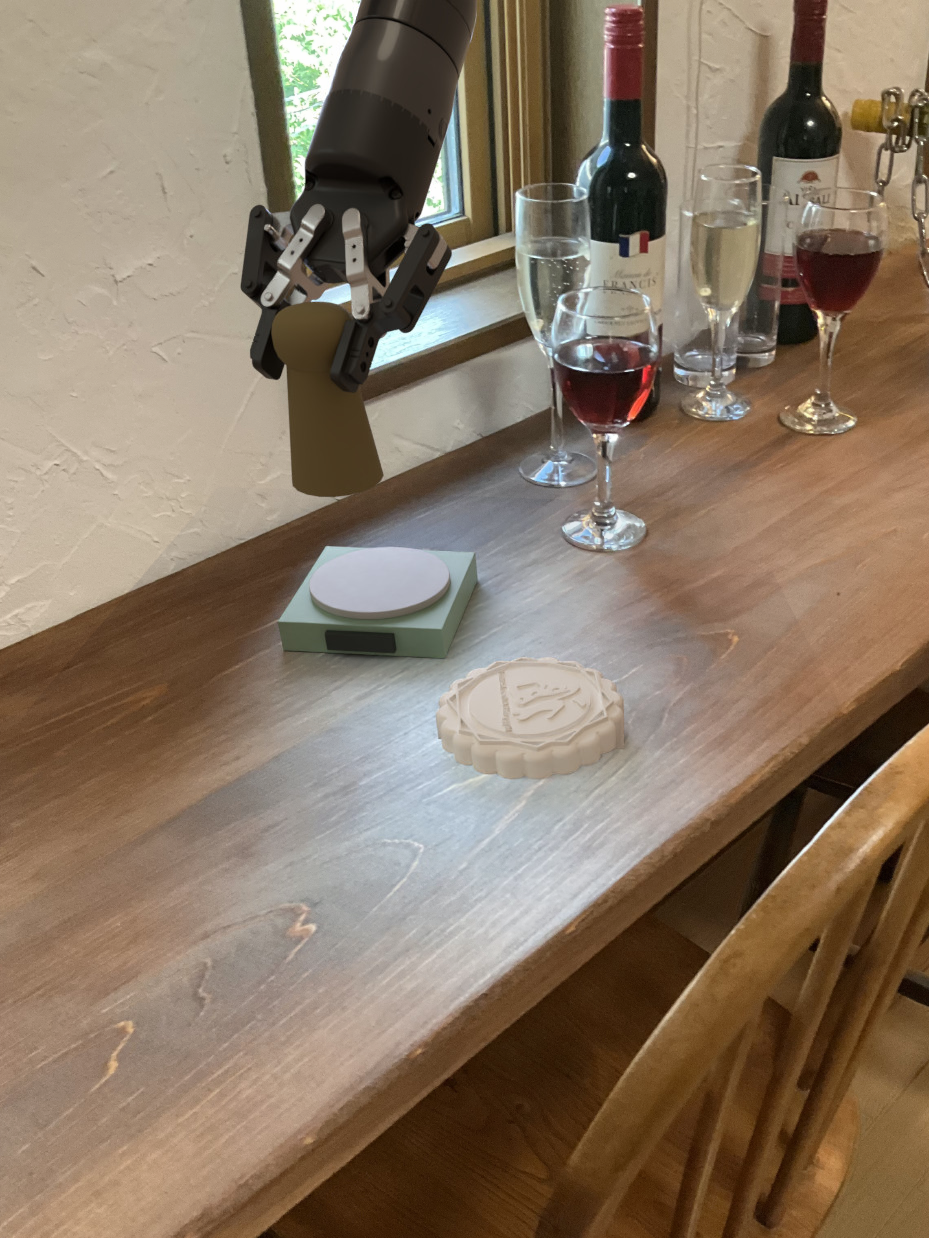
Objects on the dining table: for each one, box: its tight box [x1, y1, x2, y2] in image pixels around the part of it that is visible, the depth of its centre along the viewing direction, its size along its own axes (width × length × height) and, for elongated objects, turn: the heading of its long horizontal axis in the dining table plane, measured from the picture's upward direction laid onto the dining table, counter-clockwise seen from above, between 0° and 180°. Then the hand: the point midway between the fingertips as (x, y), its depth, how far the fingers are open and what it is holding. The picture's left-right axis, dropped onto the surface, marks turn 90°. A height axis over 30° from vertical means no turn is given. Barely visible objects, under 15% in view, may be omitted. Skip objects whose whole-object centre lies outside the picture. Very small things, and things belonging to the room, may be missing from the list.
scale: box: [277, 545, 479, 659], centre depth 95 cm, size 12×12×3 cm
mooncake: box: [435, 656, 625, 780], centre depth 82 cm, size 12×12×4 cm
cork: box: [271, 301, 384, 498], centre depth 81 cm, size 6×6×11 cm
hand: (303, 379), depth 79 cm, fingers closed on cork, 5 cm apart
